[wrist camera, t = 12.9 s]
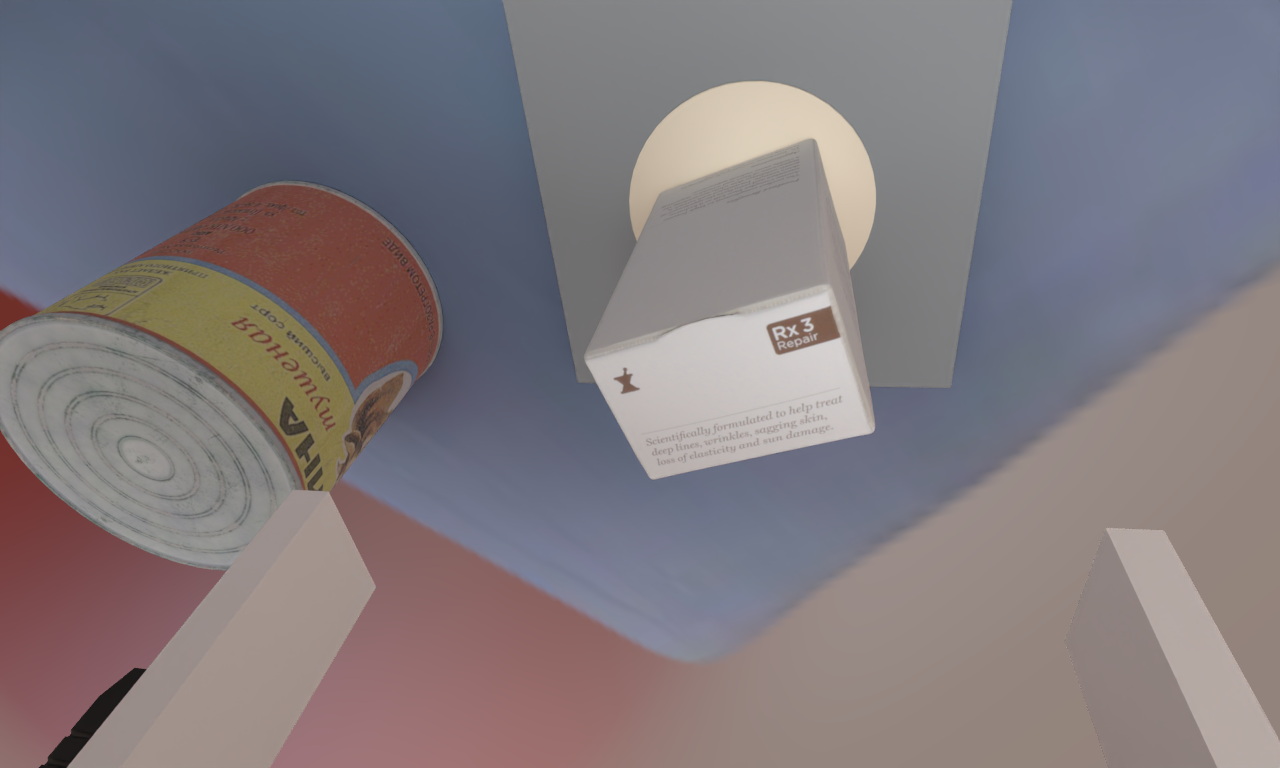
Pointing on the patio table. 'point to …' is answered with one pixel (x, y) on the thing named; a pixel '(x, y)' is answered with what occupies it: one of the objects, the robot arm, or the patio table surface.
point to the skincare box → (735, 321)
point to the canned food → (221, 370)
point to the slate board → (771, 140)
